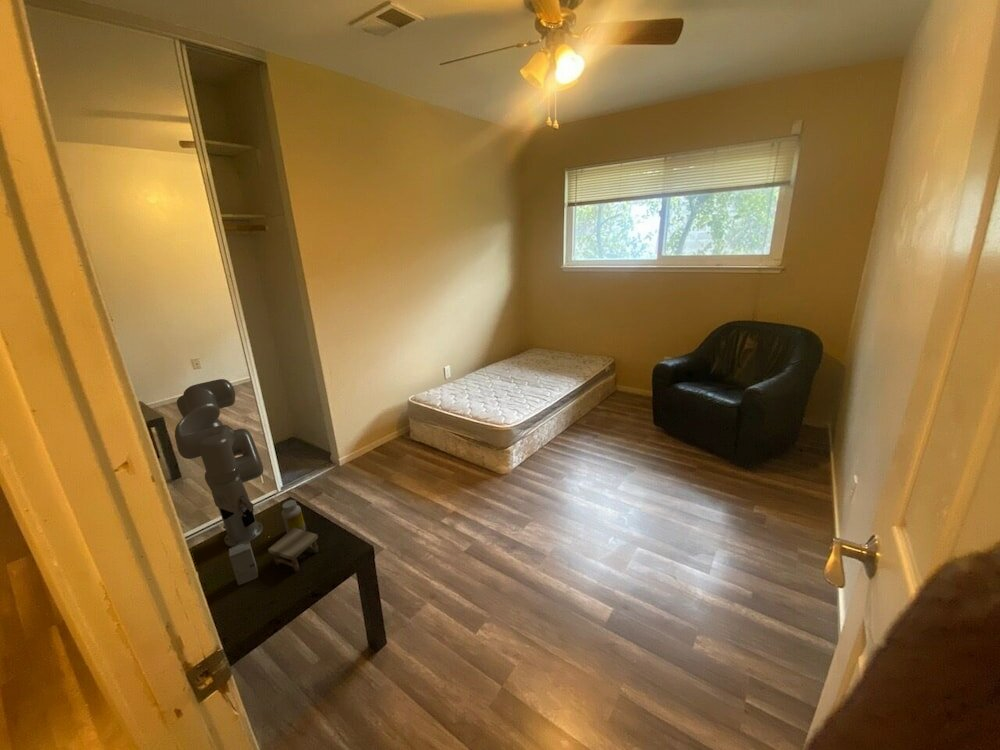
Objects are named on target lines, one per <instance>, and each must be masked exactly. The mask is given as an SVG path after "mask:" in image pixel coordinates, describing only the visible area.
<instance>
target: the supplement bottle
mask: <svg viewBox="0 0 1000 750" xmlns="http://www.w3.org/2000/svg"><path fill="white" fill-rule="evenodd" d="M281 506H282V511H281V518H282V521H283V524H284V528H285V531H286V534H287V533H288V532H289V531H291V530H292V529H293V528H297V529H300V530H304V531H306V528H307V526H306V521H305V520H304V519H305V518H304V516H303V512H302V508H301V506H300V505H298V504H297V501H296V500H295V499H290V500H287V501H285V502H283V504H282V505H281Z"/></svg>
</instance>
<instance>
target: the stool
mask: <svg viewBox="0 0 1000 750" xmlns="http://www.w3.org/2000/svg"><path fill="white" fill-rule="evenodd" d="M318 538H319V536H318V534H317V533H313V532H311V531H307V530H305V531H304V530H300V529H297V528H293V529H292V530H291V531H289V532H288V533H287V532H286V534H284V535H283V536H282V537H281V538H280V539H278V540H277V541H276V542H275V543H274V544H272V545H271V546H270V547H268V549H267V551H268V553H269V554H272V557H273V560H274V563H275V565H276V566H280V565H281V564H283V565H287V566H290V567H292V568H293V570H294V572H299V571H300V565H299V562H298V559H297V557H299V556H300V555H301V554H302V553H303V552H304V551H305V550H307V549H308V548H310V549H312V551H313V553H314V554H317V553H319V545H318V543H317V540H318ZM280 557H281V558H280ZM283 558H284V559H283ZM287 559H288V560H290V561H288V560H287Z"/></svg>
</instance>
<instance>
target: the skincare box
mask: <svg viewBox="0 0 1000 750" xmlns="http://www.w3.org/2000/svg"><path fill="white" fill-rule="evenodd" d="M251 545H252V544H251V542H246V543H244V544H240V545H237V546H235V547H231V548H229V549H228V557H229V560H230V564H231V566H232V570H233V573H234V576H235V579H236V582H237V585H238V586H240V585H244V584H245V583H249V582H251V581H254V580H255V579H257V578H259V572H258V571H259V570H258V566H257V562H256V559H255V556H254V552H253V549H252V546H251Z"/></svg>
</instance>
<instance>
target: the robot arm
mask: <svg viewBox="0 0 1000 750" xmlns="http://www.w3.org/2000/svg"><path fill="white" fill-rule="evenodd" d="M235 403H236V391H235V388H234V385H233V384H232V383H231V382H230V381H229V380H228V379H224V378H222V379H221V378H219V379H214V380H210V381H205V382H200V383H196V384H192V385H190V386H189V387H187V388H186V389H184V391H183V395H181V396H179V397H178V398H177V400H176V407H177V409H178V411H179V413H180V415H181V416H182V418H181V420H180V421H179V422H178V423H177V424H176V426H175V429H174V438H175V443H176V447H177V451H178V453H179V455H180V456H181V457H183V458H184V459H186V460H191V459H197V458H199V457H201V459H202V464H203V465H204V468H205V472H204V479H205V483H206V485H207V486H208V488H209V490H210V491H211V495H212V498H213V502H214V505H215V507H217V508H218V510H219V513H220V516H221V519H222V521H223V526H222V528H223V529H224V530H226V533H227V534H226V535H225V536H224V543H225V545H226V546H228V547H231V548H232V547H235V546H237V545H240V544H244V543H246V542H250V543H252V542H253V541H255V540H256V539H257V538H258V537H259V536H260V535H261V534H262V533H263V531H264V527H263V526H264V525H263V524H262V523H261V522H260V521H257V520H256V518H255V513H254V503H252V502H251V501H250V497H249V495H248V492H247V490H246V488H245V485H244V483H247V482H249V481H252V480H255V479H258V478H259V477H261V476H262V475H263V473H264V465H263V462H262V459H261V456H260V454H259V452H258V449H257V446H256V443H255V441H254V438H253V436H252V434H251V432H250V431H249V430H248V429H246V428H237V429H233V427H231V426H230V425H228V424H223V422H222V421H221V420H220V419H219V418H220V415H221V410H220V409H223V408H227V407H231V406H233V405H235ZM240 455H241V456H240Z"/></svg>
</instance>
